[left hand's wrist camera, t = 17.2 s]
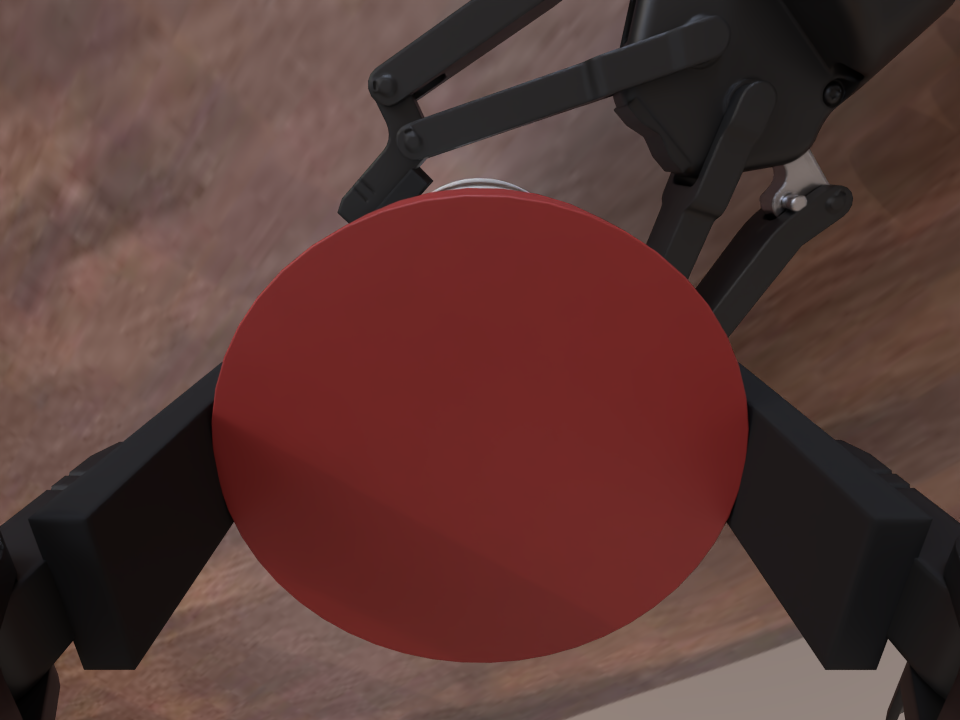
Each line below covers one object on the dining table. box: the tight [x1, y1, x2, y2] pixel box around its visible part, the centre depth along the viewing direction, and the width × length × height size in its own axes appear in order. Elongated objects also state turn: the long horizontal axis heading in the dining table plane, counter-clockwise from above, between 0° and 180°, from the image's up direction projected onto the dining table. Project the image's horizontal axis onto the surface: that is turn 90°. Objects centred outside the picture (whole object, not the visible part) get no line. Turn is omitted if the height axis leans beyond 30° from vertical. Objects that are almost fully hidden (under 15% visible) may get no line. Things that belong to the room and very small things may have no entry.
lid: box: [212, 188, 749, 663], centre depth 11 cm, size 10×10×2 cm
